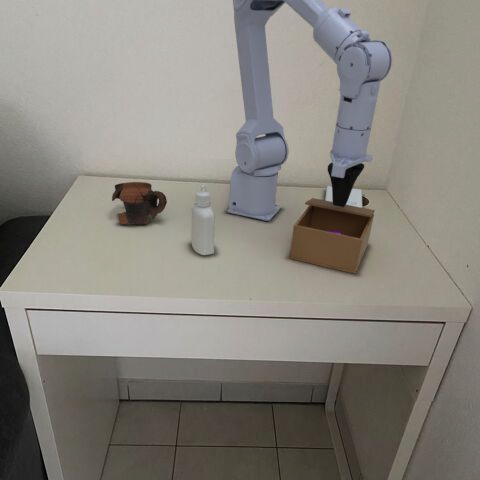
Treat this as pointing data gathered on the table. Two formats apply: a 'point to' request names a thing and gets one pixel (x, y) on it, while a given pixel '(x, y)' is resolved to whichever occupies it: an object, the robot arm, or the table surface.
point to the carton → (330, 238)
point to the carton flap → (343, 209)
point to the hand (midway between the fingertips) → (339, 204)
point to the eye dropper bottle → (203, 223)
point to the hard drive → (354, 197)
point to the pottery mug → (138, 202)
